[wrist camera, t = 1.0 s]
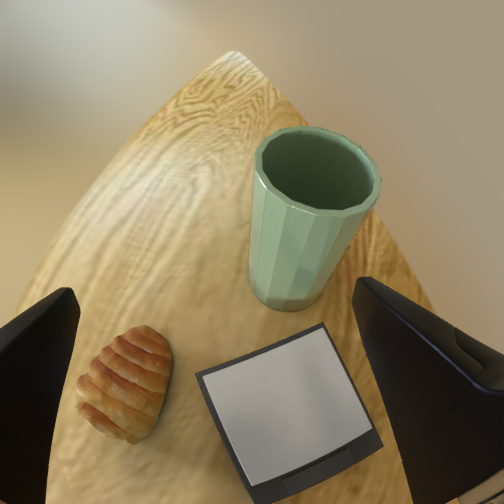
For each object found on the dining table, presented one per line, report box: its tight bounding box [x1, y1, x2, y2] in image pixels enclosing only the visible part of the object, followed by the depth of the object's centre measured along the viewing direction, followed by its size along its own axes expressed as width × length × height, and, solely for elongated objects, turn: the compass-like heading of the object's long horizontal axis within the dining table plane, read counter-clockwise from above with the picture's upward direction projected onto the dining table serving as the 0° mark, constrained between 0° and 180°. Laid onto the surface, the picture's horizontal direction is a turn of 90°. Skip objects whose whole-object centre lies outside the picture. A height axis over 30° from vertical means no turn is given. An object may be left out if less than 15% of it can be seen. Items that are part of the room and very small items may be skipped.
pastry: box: [74, 325, 172, 445], centre depth 19 cm, size 9×7×4 cm
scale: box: [195, 322, 384, 504], centre depth 18 cm, size 11×10×3 cm
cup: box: [248, 126, 382, 312], centre depth 20 cm, size 7×7×13 cm
